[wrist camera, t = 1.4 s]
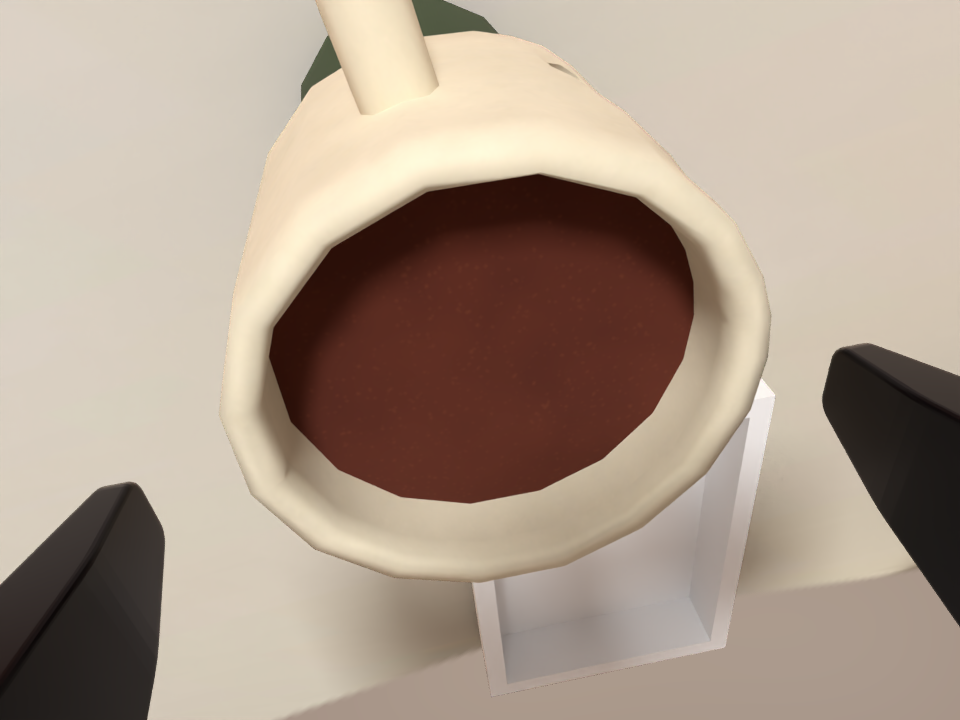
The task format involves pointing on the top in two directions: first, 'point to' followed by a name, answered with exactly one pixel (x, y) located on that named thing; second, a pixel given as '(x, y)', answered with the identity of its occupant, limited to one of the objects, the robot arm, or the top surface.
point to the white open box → (633, 583)
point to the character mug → (478, 308)
